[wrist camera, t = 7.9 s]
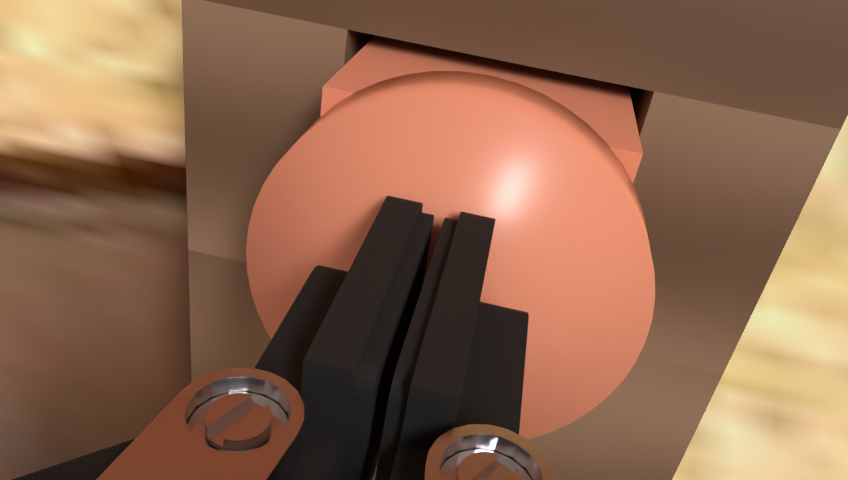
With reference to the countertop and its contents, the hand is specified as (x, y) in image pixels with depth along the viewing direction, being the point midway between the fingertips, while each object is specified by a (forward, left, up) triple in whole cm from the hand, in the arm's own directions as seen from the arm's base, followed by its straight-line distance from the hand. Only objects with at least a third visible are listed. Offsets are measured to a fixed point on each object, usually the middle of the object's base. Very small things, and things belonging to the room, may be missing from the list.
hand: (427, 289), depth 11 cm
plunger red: (0, 0, -7) cm, 7 cm away
